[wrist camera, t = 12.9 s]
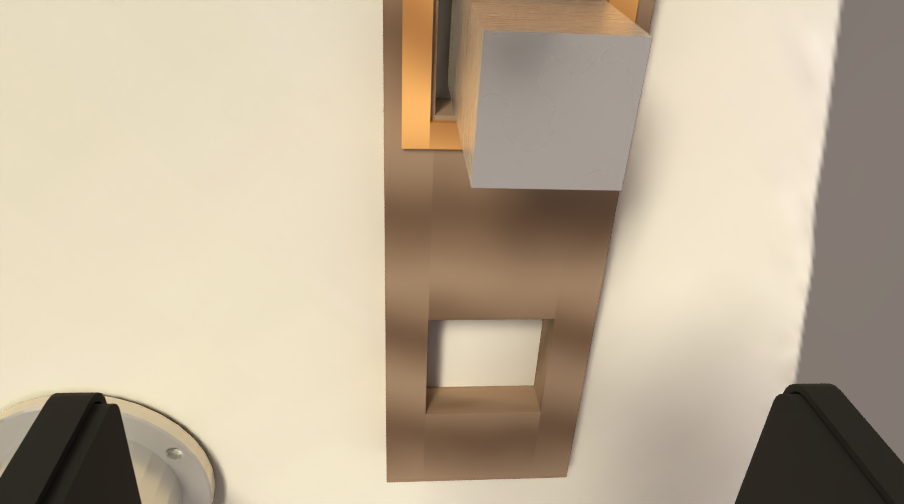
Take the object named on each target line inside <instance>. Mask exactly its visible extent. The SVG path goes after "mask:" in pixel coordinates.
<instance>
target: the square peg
mask: <svg viewBox="0 0 904 504" xmlns="http://www.w3.org/2000/svg"><path fill="white" fill-rule="evenodd" d="M651 41H652V36H651V35H649V34H648V33H647V32H646V31H644V30H643V29H642V28H640V27H639V26H638V25H637V24H635V23H634V22H633V21H631V20H630V19H629V18H628V17H626V16H625V15H624V14H622V13H621V12H620V11H619V10H617V9H616V8H615V7H613V6H612V5H611V4H610V3H608V2H607V1H606V0H452V10H451V29H450V47H449V66H448V87H449V91H450V95H451V100H452V104H453V109H454V113H455V118H456V122H457V127H458V131H459V136H460V140H461V144H462V149H463V153H464V158H465V162H466V167H467V171H468V176H469V180H470V185H471V188H508V189H562V190H616V191H622V186H623V181H624V176H625V171H626V166H627V161H628V156H629V151H630V146H631V141H632V136H633V131H634V126H635V121H636V116H637V111H638V106H639V101H640V96H641V91H642V86H643V81H644V76H645V71H646V66H647V61H648V56H649V51H650V46H651Z"/></svg>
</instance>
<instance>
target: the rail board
mask: <svg viewBox="0 0 904 504" xmlns="http://www.w3.org/2000/svg"><path fill="white" fill-rule="evenodd" d="M606 1H607V2H608V3H610V4H611V5H612V6H613V7H615V8H616V9H617V10H619V11H620V12H621V13H622V14H624V15H625V16H626V17H628V18H629V19H630V20H631V21H633V22H634V23H635V24H637V25H638V26H639V27H640V28H642V29H643V30H644V31H646V32H647V33H648V34H649V28H650V23H651V17H652V12H653V7H654V1H655V0H606ZM438 2H439V0H383V64H384V192H385V320H386V449H387V482H414V481H450V480H485V479H520V478H555V477H566V476H567V470H568V465H569V459H570V454H571V449H572V443H573V438H574V432H575V427H576V422H577V416H578V411H579V406H580V400H581V395H582V389H583V384H584V379H585V373H586V368H587V362H588V357H589V352H590V346H591V341H592V335H593V330H594V325H595V319H596V314H597V308H598V303H599V298H600V292H601V287H602V282H603V276H604V271H605V265H606V260H607V255H608V249H609V244H610V238H611V233H612V228H613V222H614V217H615V211H616V206H617V201H618V195H619V191H616V190H562V189H508V188H471V185H470V180H469V176H468V171H467V167H466V162H465V158H464V153H463V149H462V144H461V140H460V136H459V131H458V127H457V122H456V118H455V113H454V109H453V104H452V100H451V99H435V96H436V65H437V33H438ZM485 319H543V324H542V332H541V339H540V346H539V353H538V361H537V368H536V375H535V383H534V386H493V387H434V388H426V380H427V348H428V320H485Z"/></svg>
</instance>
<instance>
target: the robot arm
mask: <svg viewBox="0 0 904 504" xmlns="http://www.w3.org/2000/svg"><path fill="white" fill-rule="evenodd" d="M214 491H215V479H214V473H213V468H212V466H211V464H210V462H209V460H208V458H207V456H206V453H205V452H204V451H203V450H202V448H201V447H200V446H199V444H198V443H197V442H196V441H195V439H194V438H193V437H191V436H190V435H189V434H188V433H187V432H186V431H185V430H183V429H182V428H181V427H180V426H179V425H177V424H176V423H174V422H172V421H171V420H169V419H167V418H166V417H164V416H163V415H161V414H159V413H157V412H155V411H152V410H150V409H148V408H146V407H143V406H141V405H139V404H135V403H132V402H128V401H125V400H121V399H118V398H114V397H107V396H103V394H102V393H55V394H53V395H49V396H41V397H38V398H34V399H31V400H27V401H24V402H20V403H18V404H16V405H15V406H13V407H11V408H9V409H7V410H5V411H3V412H1V413H0V504H212V502H213V498H214ZM735 504H904V464H903V462H902V461H901V460H900V459H899V458H898V457H897V456H896V454H895V453H894V452H893V451H892V450H891V449H890V447H889V446H888V445H887V444H886V443H885V442H884V440H883V439H882V438H881V437H880V436H879V435H878V433H877V432H876V431H875V430H874V429H873V428H872V426H871V425H870V424H869V423H868V422H867V421H866V420H865V418H863V416H862V415H861V414H860V413H859V411H858V410H857V409H856V408H855V407H854V406H853V404H852V403H851V402H850V401H849V400H848V399H847V397H846V396H845V395H844V394H843V393H842V392H841V390H839V389H838V388H837V387H836V386H834V385H832V384H792V385H789V386H788V387H787V388H786V389H785V391H784V393H783V394H779V395H778V396H777V397H776V398H775V400H774V401H773V404H772V407H771V409H770V412H769V415H768V417H767V420H766V422H765V425H764V428H763V430H762V433H761V436H760V438H759V441H758V443H757V446H756V449H755V451H754V454H753V457H752V459H751V462H750V464H749V467H748V470H747V472H746V475H745V478H744V480H743V483H742V485H741V488H740V491H739V493H738V496H737V499H736V501H735Z"/></svg>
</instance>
